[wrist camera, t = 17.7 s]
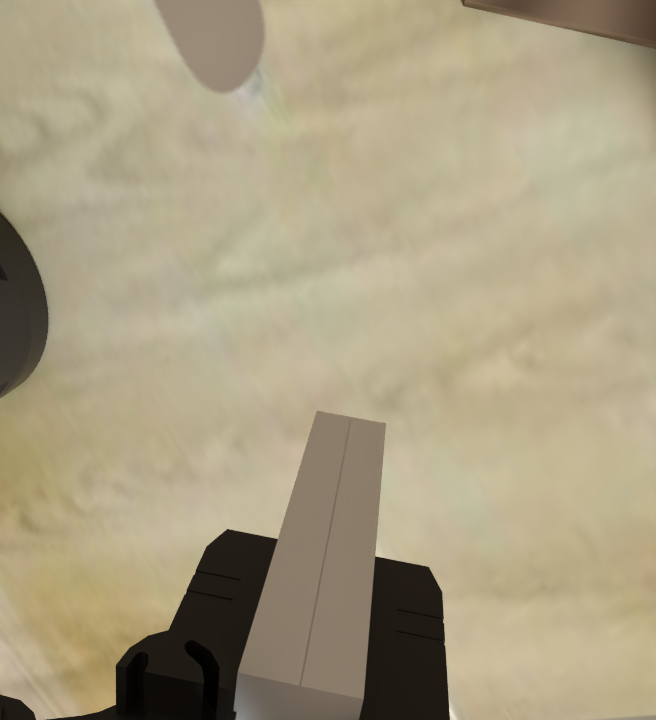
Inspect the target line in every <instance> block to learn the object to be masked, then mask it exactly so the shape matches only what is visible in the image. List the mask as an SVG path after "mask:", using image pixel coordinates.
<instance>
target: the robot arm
mask: <svg viewBox="0 0 656 720" xmlns="http://www.w3.org/2000/svg"><path fill="white" fill-rule="evenodd" d="M47 333H48V307H47V301H46V296H45V291H44V287H43V284H42V281H41V278H40V275H39V273H38V270H37V268H36V266H35V263H34V261H33V259H32V258H31V256H30V254H29V252H28V250H27V249H26V247H25V245H24V244H23V242H22V241H21V239H20V238H19V237H18V235H17V234H16V233H15V231H14V230H13V229H12V228H11V226H10V225H9V224H8V223H7V222H6V221H5V220H4V219H3V218H2V217H1V216H0V398H1V397H3V396H4V395H6V394H7V393H9V392H10V391H12V390H13V389H15V388H16V387H18V386H19V385H20V384H22V383H23V382H24V381H25V380H26V379H27V378H28V377H29V376H30V374H31V373H32V372H33V371H34V369H35V368H36V366H37V364H38V363H39V361H40V359H41V356H42V354H43V351H44V348H45V344H46V340H47ZM385 427H386V423H380V422H375V421H369V420H364V419H358V418H353V417H348V416H342V415H337V414H331V413H326V412H321V411H317V412H316V415H315V419H314V422H313V425H312V429H311V432H310V435H309V438H308V442H307V445H306V448H305V452H304V455H303V458H302V462H301V465H300V468H299V471H298V475H297V478H296V481H295V485H294V488H293V491H292V495H291V498H290V501H289V504H288V508H287V511H286V514H285V518H284V521H283V524H282V528H281V531H280V534H279V538H278V539H274V538H269V537H264V536H259V535H254V534H249V533H244V532H239V531H234V530H229V529H227V530H226V531H224V532H223V533H222V534H221V535H220V536H219V537H217V538H216V539H215V540H214V541H213V542H212V543H210V544H209V545H208V546H207V547H206V549H205V551H204V554H203V556H202V558H201V560H200V562H199V564H198V567H197V569H196V573H195V575H193V578H192V580H191V582H190V584H189V586H188V589H187V592H186V595H184V597H183V600H182V602H181V604H180V606H179V608H178V611H177V613H176V615H175V617H174V619H173V621H172V624H171V626H170V628H169V630H168V631H164V632H160V633H157V634H153V635H149V636H147V637H146V638H144V639H143V640H141V641H139V642H138V643H136V644H135V645H133V646H132V647H130V648H129V649H128V651H127V652H126V653H125V654H124V656H123V657H122V658H121V659H120V661H119V662H118V663H117V665H116V705H114V706H112V707H110V708H107V709H105V710H103V711H100V712H97V713H92V714H88V715H83V716H75V717H66V718H57V719H48V720H450V716H449V700H448V683H447V666H446V650H445V646H444V643H445V633H444V623H443V619H444V617H443V600H442V591H441V589H440V587H439V585H438V584H437V582H436V580H435V578H434V576H433V574H432V572H431V571H430V569H429V567H426V566H421V565H416V564H411V563H406V562H401V561H396V560H391V559H385V558H380V557H375V551H376V539H377V526H378V514H379V502H380V489H381V477H382V464H383V452H384V440H385ZM0 720H36V718H35V715H34V712H33V711H32V710H31V709H29V708H28V707H27V706H26V705H25V704H24V703H23V702H22V701H21V700H18V699H14V698H10V697H7V696H3V695H0Z"/></svg>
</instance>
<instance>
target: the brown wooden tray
mask: <svg viewBox="0 0 656 720" xmlns="http://www.w3.org/2000/svg"><path fill="white" fill-rule="evenodd" d="M463 6H466V7H470V8H475V9H479V10H484V11H488V12H493V13H498V14H502V15H507V16H511V17H516V18H520V19H525V20H529V21H534V22H538V23H543V24H547V25H552V26H556V27H561V28H565V29H570V30H574V31H579V32H583V33H588V34H592V35H597V36H601V37H606V38H610V39H615V40H619V41H624V42H629V43H633V44H638V45H642V46H647V47H651V48H656V0H464V4H463Z"/></svg>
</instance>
